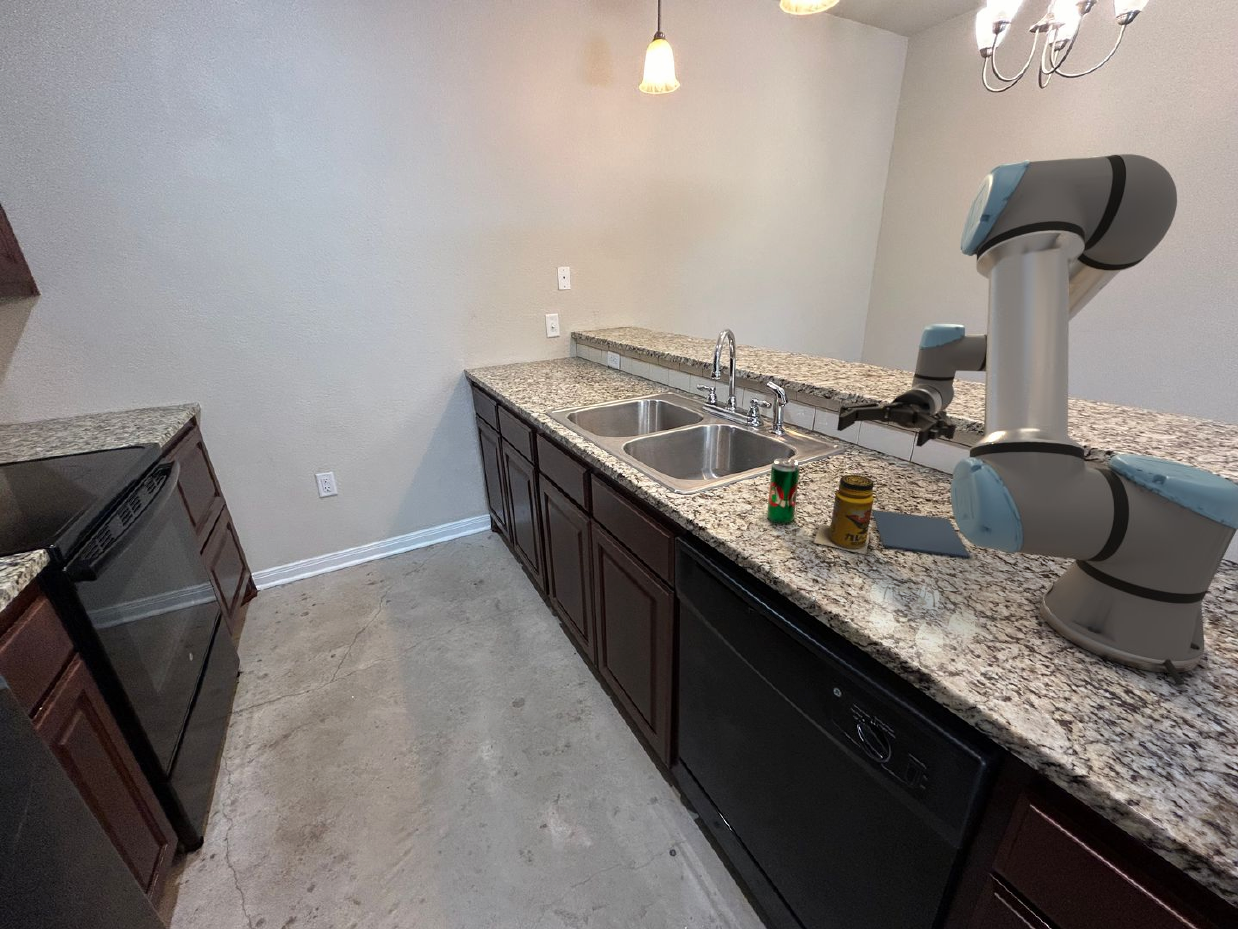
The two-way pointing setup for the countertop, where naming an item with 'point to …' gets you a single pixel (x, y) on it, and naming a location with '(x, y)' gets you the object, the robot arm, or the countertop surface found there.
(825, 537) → the condiment
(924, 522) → the blue mat
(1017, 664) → the countertop surface
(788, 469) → the soda can
